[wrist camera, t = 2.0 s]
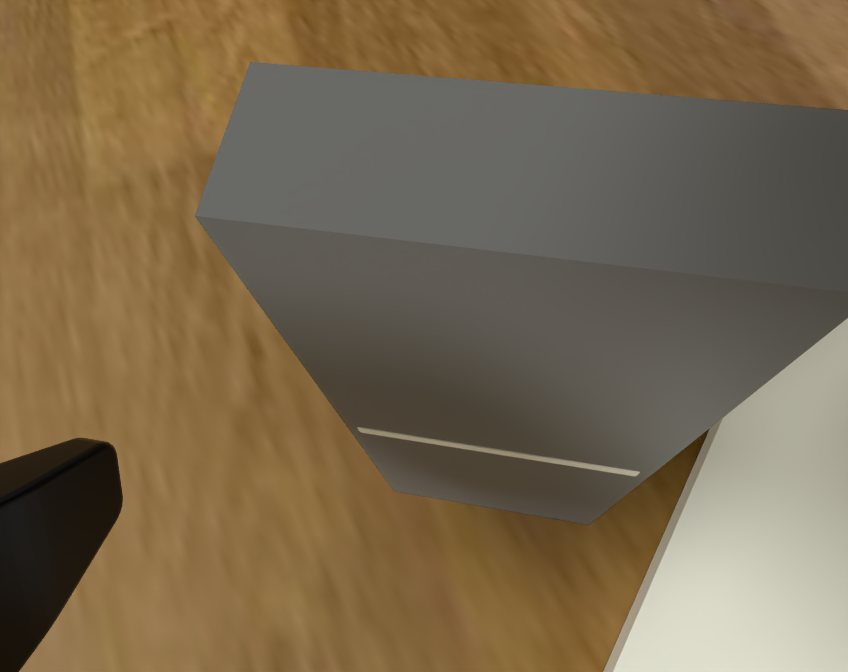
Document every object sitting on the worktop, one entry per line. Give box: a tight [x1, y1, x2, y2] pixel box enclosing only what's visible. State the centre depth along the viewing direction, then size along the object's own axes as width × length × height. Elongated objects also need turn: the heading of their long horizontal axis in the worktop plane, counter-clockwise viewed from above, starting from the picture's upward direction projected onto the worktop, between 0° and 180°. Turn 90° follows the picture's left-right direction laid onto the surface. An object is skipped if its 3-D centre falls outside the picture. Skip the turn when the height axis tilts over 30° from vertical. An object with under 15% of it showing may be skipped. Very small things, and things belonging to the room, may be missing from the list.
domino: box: [195, 62, 848, 525], centre depth 11 cm, size 2×5×13 cm, turn 80°
